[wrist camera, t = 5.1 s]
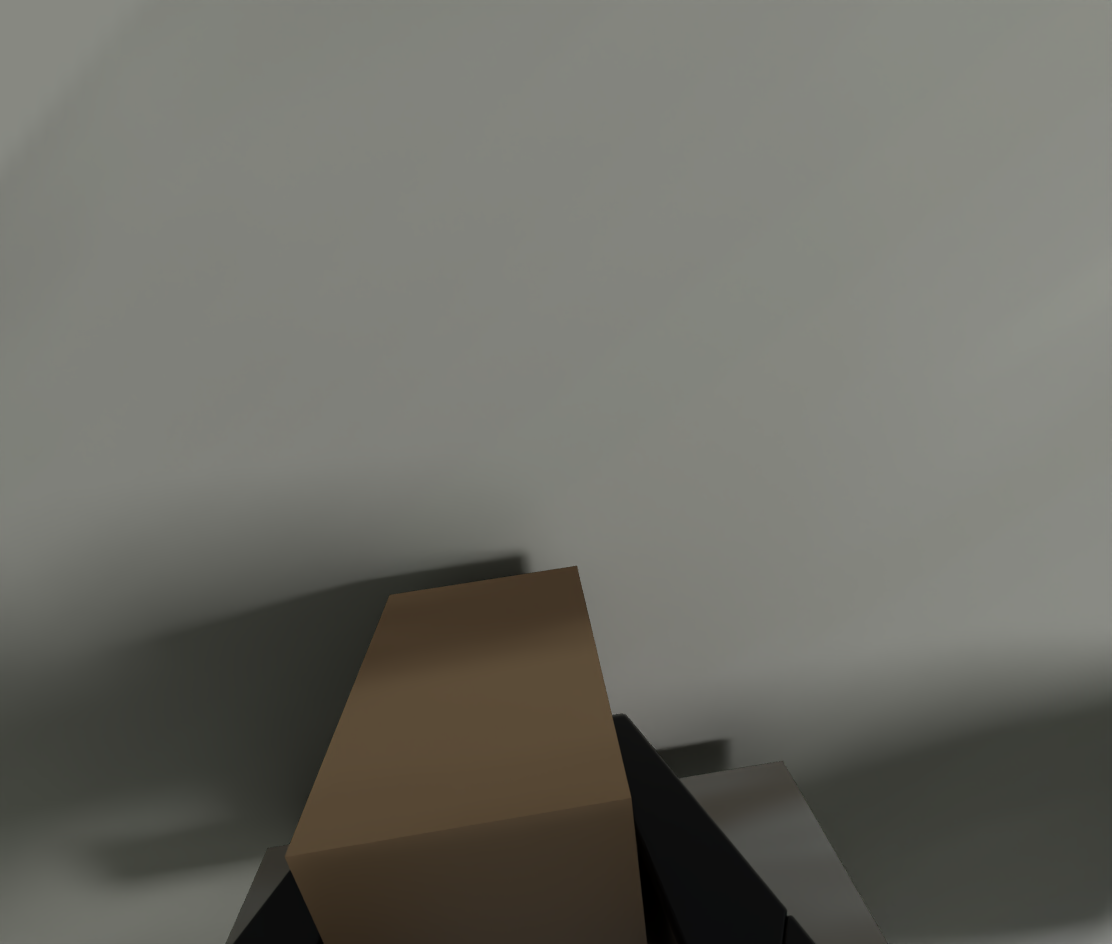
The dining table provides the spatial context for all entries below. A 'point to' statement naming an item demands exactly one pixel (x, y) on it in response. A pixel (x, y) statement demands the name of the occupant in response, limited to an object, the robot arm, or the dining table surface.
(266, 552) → the dining table surface
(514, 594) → the tan block on bar
